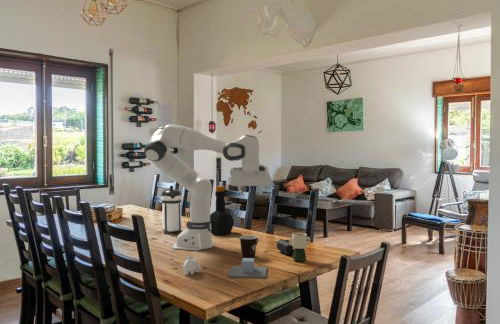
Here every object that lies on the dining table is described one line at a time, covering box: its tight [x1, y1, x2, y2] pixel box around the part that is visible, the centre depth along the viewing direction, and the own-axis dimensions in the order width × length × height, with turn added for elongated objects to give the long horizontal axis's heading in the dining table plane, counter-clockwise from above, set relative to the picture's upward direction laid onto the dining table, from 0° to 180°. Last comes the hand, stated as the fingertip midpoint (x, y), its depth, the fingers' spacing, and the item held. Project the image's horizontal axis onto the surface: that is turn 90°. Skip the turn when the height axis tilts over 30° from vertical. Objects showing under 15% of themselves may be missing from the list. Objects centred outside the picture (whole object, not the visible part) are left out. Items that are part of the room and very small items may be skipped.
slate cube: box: [241, 258, 255, 273], centre depth 185 cm, size 5×5×5 cm
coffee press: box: [161, 185, 183, 235], centre depth 271 cm, size 17×16×30 cm
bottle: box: [210, 185, 235, 236], centre depth 264 cm, size 16×16×30 cm
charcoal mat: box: [227, 265, 268, 279], centre depth 185 cm, size 16×14×1 cm
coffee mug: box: [239, 234, 259, 259], centre depth 211 cm, size 12×9×10 cm
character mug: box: [288, 232, 311, 262], centre depth 202 cm, size 11×7×13 cm, turn 107°
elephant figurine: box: [180, 254, 203, 276], centre depth 185 cm, size 8×10×7 cm
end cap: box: [276, 238, 295, 257], centre depth 216 cm, size 10×7×7 cm
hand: (250, 194), depth 210 cm, fingers open, 8 cm apart
